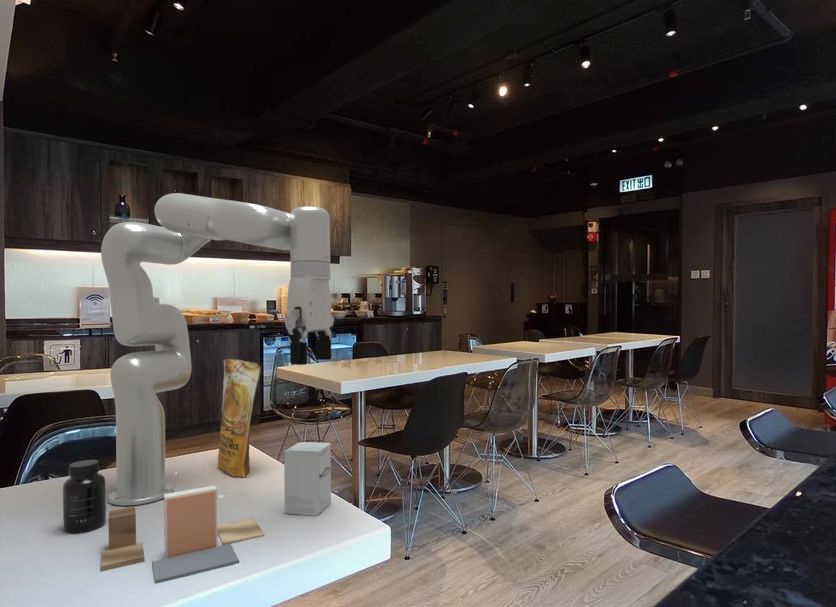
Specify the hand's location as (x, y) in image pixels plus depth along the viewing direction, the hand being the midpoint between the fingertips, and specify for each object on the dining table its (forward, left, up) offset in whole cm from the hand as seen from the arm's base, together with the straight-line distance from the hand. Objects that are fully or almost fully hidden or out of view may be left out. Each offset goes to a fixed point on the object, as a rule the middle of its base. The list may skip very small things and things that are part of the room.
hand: (311, 361), depth 100 cm
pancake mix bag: (-43, -6, -31) cm, 53 cm away
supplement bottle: (-21, -38, -31) cm, 53 cm away
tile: (+1, -22, -30) cm, 37 cm away
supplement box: (-7, +1, -31) cm, 31 cm away
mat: (+6, -22, -30) cm, 38 cm away
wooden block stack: (-4, -32, -30) cm, 44 cm away
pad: (-3, -13, -30) cm, 33 cm away
